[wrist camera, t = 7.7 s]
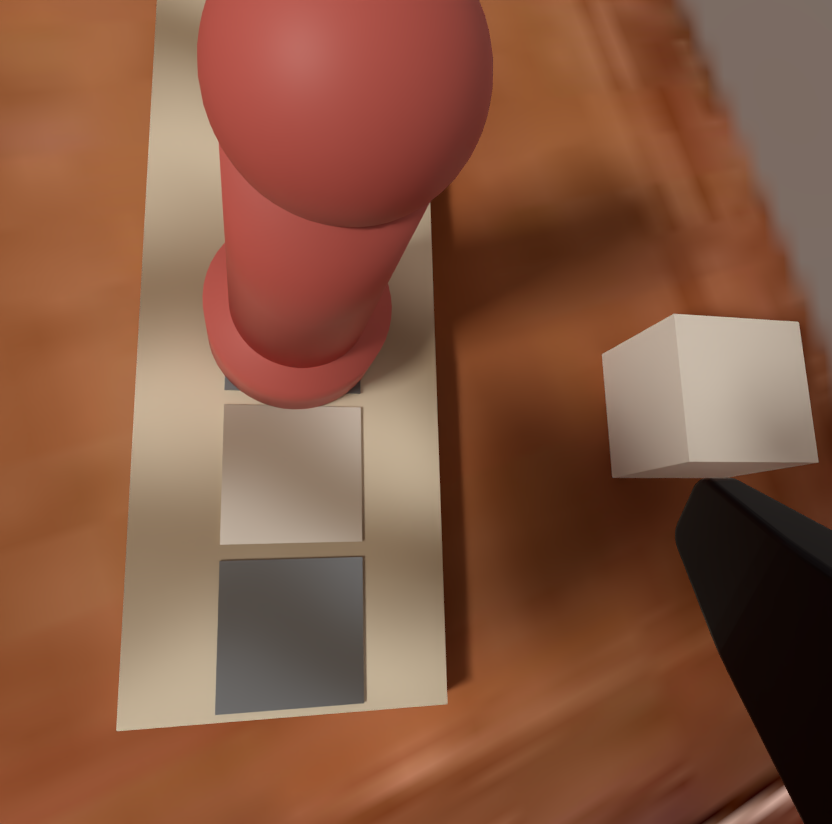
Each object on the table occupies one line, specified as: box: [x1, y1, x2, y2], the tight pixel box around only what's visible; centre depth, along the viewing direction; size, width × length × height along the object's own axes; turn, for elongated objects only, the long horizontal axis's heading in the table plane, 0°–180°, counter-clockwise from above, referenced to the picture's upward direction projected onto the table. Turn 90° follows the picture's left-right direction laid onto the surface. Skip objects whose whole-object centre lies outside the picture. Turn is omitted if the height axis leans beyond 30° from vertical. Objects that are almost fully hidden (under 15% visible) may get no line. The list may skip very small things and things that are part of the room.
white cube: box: [602, 314, 819, 478], centre depth 21 cm, size 4×4×4 cm
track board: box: [116, 0, 447, 731], centre depth 19 cm, size 20×8×1 cm, turn 2°
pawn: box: [197, 0, 493, 409], centre depth 13 cm, size 5×5×12 cm
